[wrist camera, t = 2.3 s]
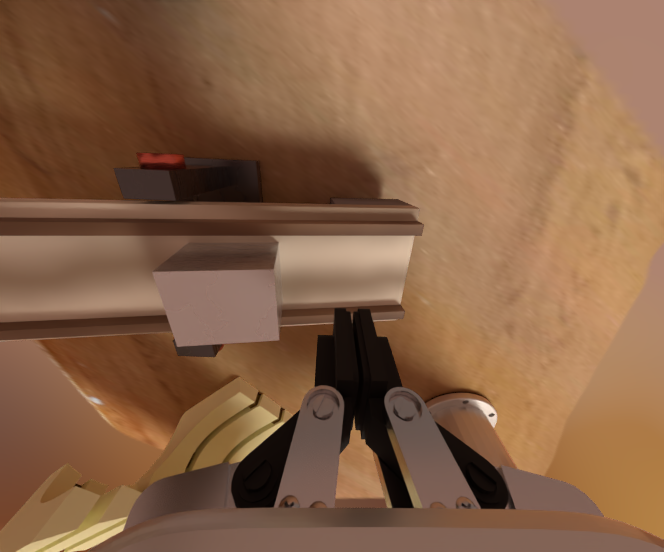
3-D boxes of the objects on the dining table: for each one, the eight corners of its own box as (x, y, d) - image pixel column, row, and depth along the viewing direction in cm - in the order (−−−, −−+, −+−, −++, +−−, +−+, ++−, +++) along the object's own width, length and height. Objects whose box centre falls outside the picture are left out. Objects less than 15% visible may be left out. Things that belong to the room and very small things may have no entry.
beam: (381, 295, 25) (403, 330, 20) (6, 310, 20) (-89, 361, 15) (397, 199, 21) (430, 213, 16) (-80, 188, 16) (-256, 203, 11)
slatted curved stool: (124, 391, 35) (-51, 588, 19) (189, 340, 30) (30, 543, 14) (269, 473, 45) (234, 643, 29) (333, 444, 41) (334, 627, 25)
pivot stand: (271, 304, 28) (246, 365, 20) (203, 302, 28) (150, 361, 19) (258, 157, 21) (211, 156, 13) (167, 152, 20) (60, 149, 12)
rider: (282, 301, 19) (279, 340, 15) (203, 304, 18) (177, 346, 14) (278, 242, 17) (273, 269, 13) (187, 242, 16) (151, 271, 12)
